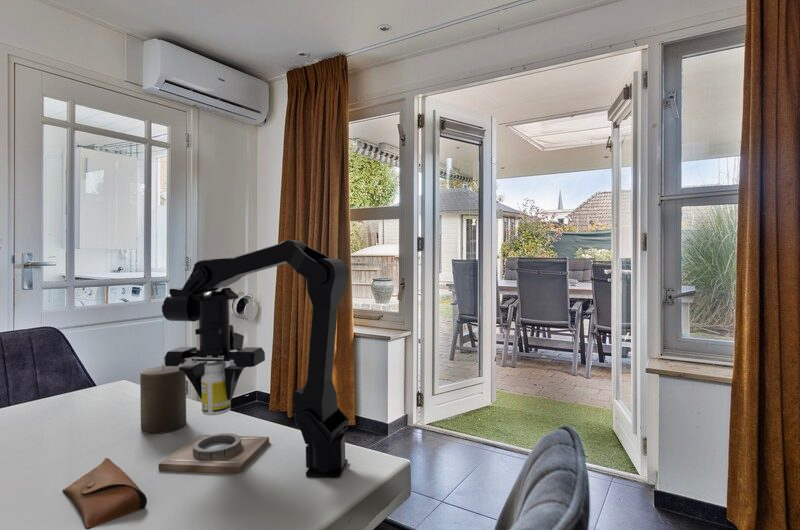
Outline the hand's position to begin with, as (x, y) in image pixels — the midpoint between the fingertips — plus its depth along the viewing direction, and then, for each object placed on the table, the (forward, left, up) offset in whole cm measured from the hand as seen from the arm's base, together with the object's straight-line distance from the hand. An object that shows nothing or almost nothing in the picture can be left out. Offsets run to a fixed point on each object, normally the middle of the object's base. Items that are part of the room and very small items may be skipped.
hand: (216, 399), depth 92 cm
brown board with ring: (0, 0, -12) cm, 12 cm away
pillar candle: (+21, -14, -12) cm, 28 cm away
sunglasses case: (+11, +17, -12) cm, 24 cm away
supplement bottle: (0, 0, -3) cm, 3 cm away
